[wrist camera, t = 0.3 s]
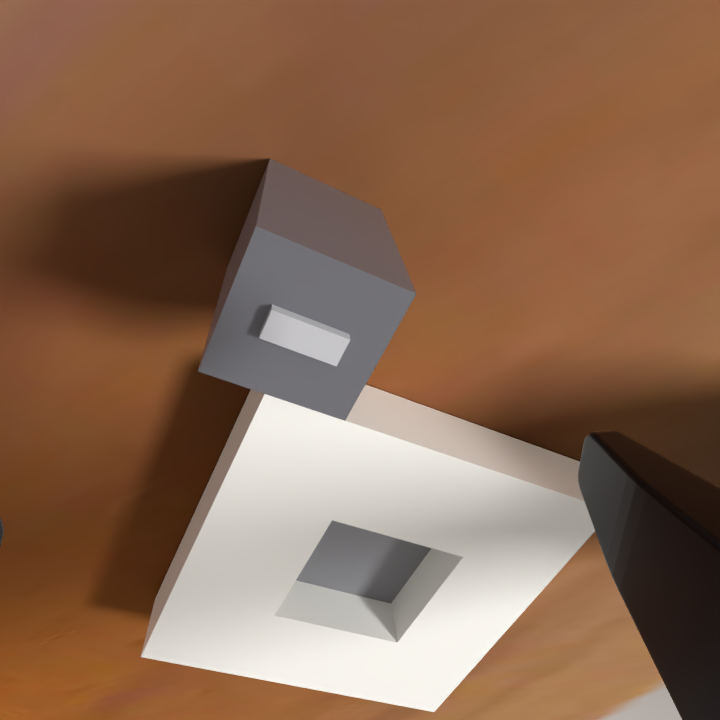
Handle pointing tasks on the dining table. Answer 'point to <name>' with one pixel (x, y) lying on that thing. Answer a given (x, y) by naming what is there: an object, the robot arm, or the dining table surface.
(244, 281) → the grey square peg
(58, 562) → the dining table surface
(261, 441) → the outlet plate
